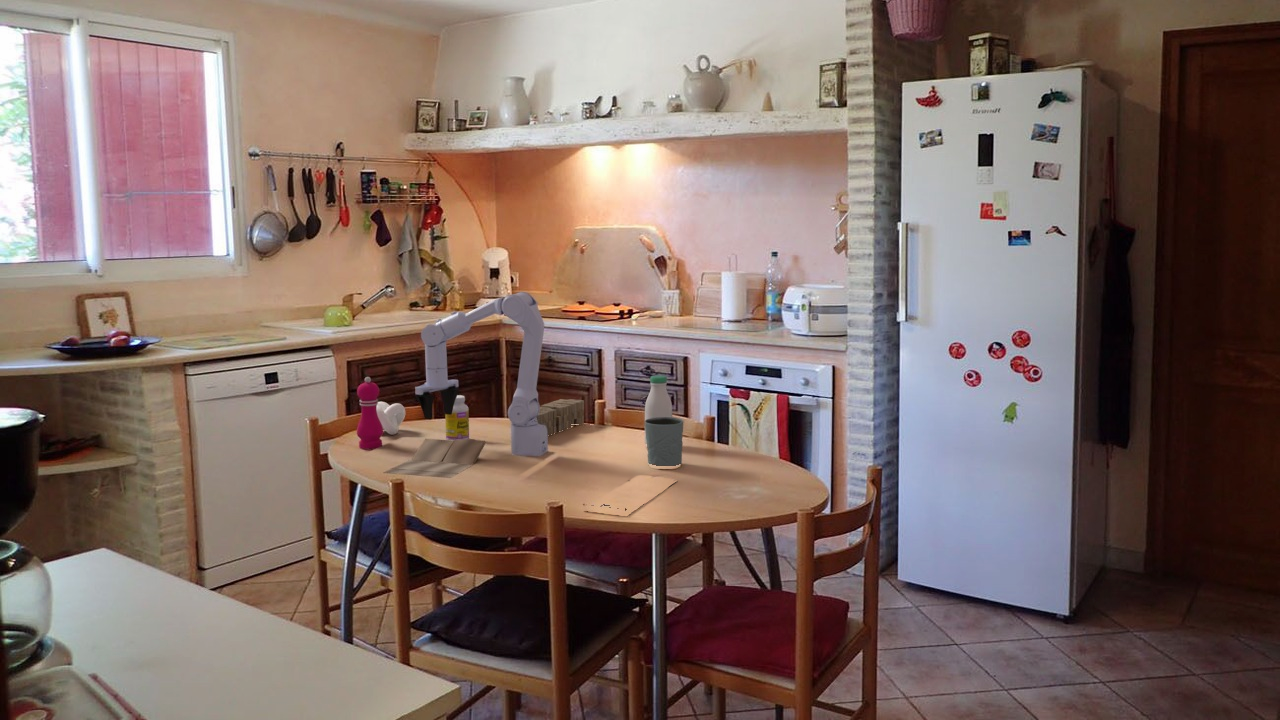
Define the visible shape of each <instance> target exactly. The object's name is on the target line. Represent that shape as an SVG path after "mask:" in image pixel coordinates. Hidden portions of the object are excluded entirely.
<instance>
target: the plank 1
mask: <svg viewBox="0 0 1280 720" xmlns="http://www.w3.org/2000/svg"><path fill="white" fill-rule="evenodd" d="M453 442H454V440H446V439H435V438H425V439H424V440H423V441H422V443H421V444H420V446H419V448H418V449H417V451H416V452H415V454H414V455H413V457H411V460H413V461H427V462H440V463H442V462H443V460H444V458H445V456H446V455H447V453H448V451H449V449H450V447H451V446H452V444H453Z"/></svg>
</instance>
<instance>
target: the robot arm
mask: <svg viewBox="0 0 1280 720" xmlns="http://www.w3.org/2000/svg"><path fill="white" fill-rule="evenodd" d="M495 314H496V315H499V316H504V315H505V316H506V317H507V318H508V319H510V320H511V321H514V323H516V324H517V325H518V326H519V327H520V328H521V330H523V339H522V345H521V355H520V360H519V361H520V362H519V369H518V377H517V385H516V390H515V391H514V393H513V397H512V402H511V404H510V406H509V407H508V409H507V417H508V420H509V421H510V441H511V442H510V444H511V445H510V446H511V448H510V450H511V455H514V456H524V457H525V456H526V457H527V456H528V457H529V456H530V457H541V456H543V455H544V454H545V453H548V452H549V449H548V447H549V441H548V435H547V428H546V426H545V425H540V424H538V421H537V418H536V416H537V415H538V413H539V411H540V407H541V405H540V403H539V392H538V390H537V387H538V385H537V384H538V378H539V370H540V362H541V354H542V348H543V340H544V332H545V322H544V320H543V317H542V314H541V312H540V310H539V305H538V301H537V299H535V298H534V296H532V295H531V294H530V293H529V292H526V291H519V292H517V293H514V294H512V293H511V294H508V295H506V296H502V297H498V298H494V299H492V300H490V301H488V302H486V303H484V304H483V305H482V304H481V305H480V306H478V307H476V308H475V309H473V310H471V311H468V312H464V311H461V310H459V311H457V310H454V311H452V312H450V315H447V317H444V318H442V319H441V318H439V319H437V320H436V321H435V323H432V324H431V323H430V324H427V325H426V326H424V328H422V330H421V333H420V338H421V340H422V342H423V343H424V353H425V354H424V356H425V357H424V359H425V379H426V382H424V384H421V385H419V386H414V389H415V390H414V391H415V394H414V395H415V396H414V397H415V399H416V400H417V402H418V403H419V405H420V408H421V410H422V413H423V416H424V419H425V420H429V421H430V420H433V412H434V411H433V408H434V407H433V406H434V401H435V397H436V395H434V394H431V393H433V392H437V391H439V392H440V394H441V398H442V403H443V411H444V415H445V414H449V415H451V414H452V411H453V406H454V402H455V399H456V397H457V395H458V394H459V393H460V388H459V380H458V379H453V378H452V379H448V377H449V376H448V357H447V355H448V354H447V341H448V340H451V339H453V338H455V337H458V336H460V335H462V334H464V333H466V332H469V331H470V330H471V327H472V325H473V324H474V323H477V322H480V321H481V320H483V319H487V318H488V317H490V316H493V315H495Z"/></svg>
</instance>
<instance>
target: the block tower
mask: <svg viewBox="0 0 1280 720" xmlns="http://www.w3.org/2000/svg"><path fill="white" fill-rule="evenodd" d="M536 418H537V421H538V424H540V425H545V426H546V428H547V435H551V434H554V433H556V432H559V431H562V430H565V431H567V430H566V429H567V428H571V426H574V427H579V426H578V425H571V424H581V425H585V400H582V399H572V398H569V399H563V398H562V399H561V398H560V399H557V400H554V401H551V402H548V403H544V404H542V405H540V411H539V413H538V415H537V416H536ZM571 429H572V428H571ZM562 432H563V431H562ZM556 434H557V433H556Z"/></svg>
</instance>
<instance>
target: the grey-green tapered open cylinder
mask: <svg viewBox="0 0 1280 720" xmlns="http://www.w3.org/2000/svg"><path fill="white" fill-rule="evenodd" d="M645 431H646V440H647V447H646V450H647V463H649V464H652V465H656V466H676V465H679V464H681V465H682V461H683V453H682V452H683V437H684V436H683V434H684V433H683V431H684V420H683V418H680V417H679V418H678V417H675V416H672V417H657V418H650V419H647V420H645V419H644V432H645Z"/></svg>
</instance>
